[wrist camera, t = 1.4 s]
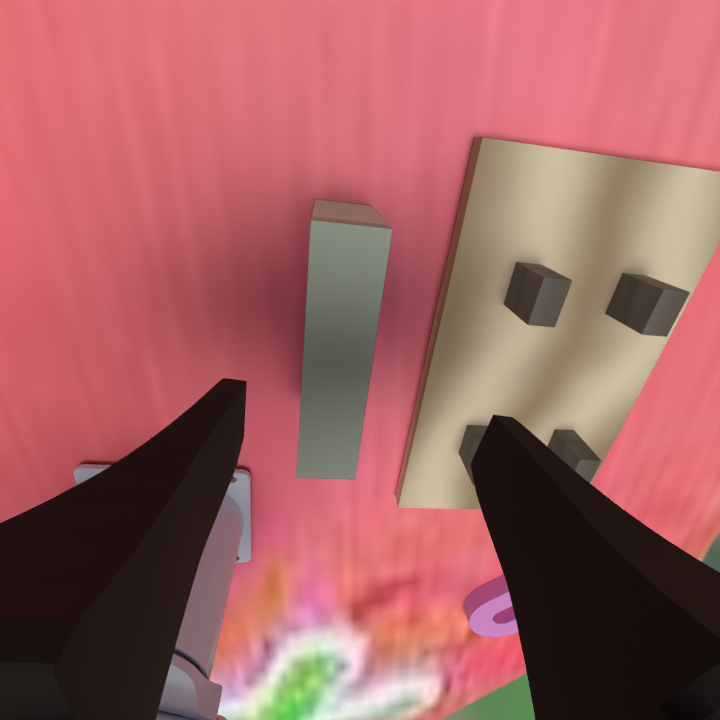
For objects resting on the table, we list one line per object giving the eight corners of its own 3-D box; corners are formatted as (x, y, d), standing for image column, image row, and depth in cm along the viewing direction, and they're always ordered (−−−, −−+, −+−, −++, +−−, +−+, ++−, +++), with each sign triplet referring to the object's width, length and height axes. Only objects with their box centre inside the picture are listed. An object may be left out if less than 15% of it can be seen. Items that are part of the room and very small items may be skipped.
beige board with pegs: (395, 495, 25) (405, 543, 22) (473, 138, 16) (509, 134, 13) (568, 499, 26) (600, 545, 23) (732, 175, 17) (821, 180, 14)
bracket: (602, 522, 28) (679, 625, 22) (628, 558, 30) (704, 661, 24) (451, 599, 31) (481, 708, 25) (484, 626, 33) (519, 733, 27)
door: (303, 396, 21) (296, 477, 16) (315, 199, 16) (310, 220, 11) (347, 399, 21) (354, 479, 16) (371, 205, 17) (392, 229, 12)
